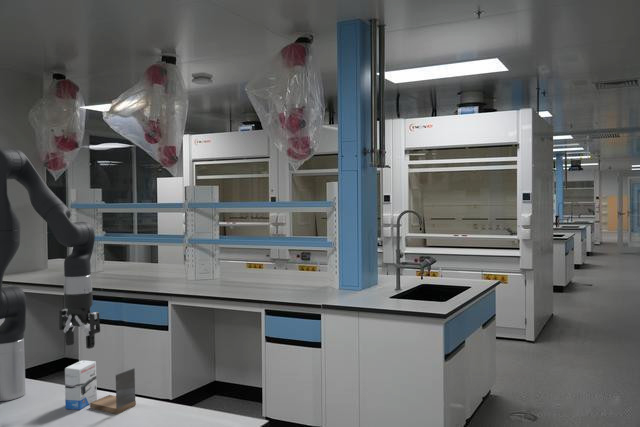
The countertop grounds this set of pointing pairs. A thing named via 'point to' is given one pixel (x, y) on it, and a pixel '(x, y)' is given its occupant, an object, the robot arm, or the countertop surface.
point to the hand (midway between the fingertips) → (80, 346)
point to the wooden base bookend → (119, 395)
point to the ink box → (80, 384)
